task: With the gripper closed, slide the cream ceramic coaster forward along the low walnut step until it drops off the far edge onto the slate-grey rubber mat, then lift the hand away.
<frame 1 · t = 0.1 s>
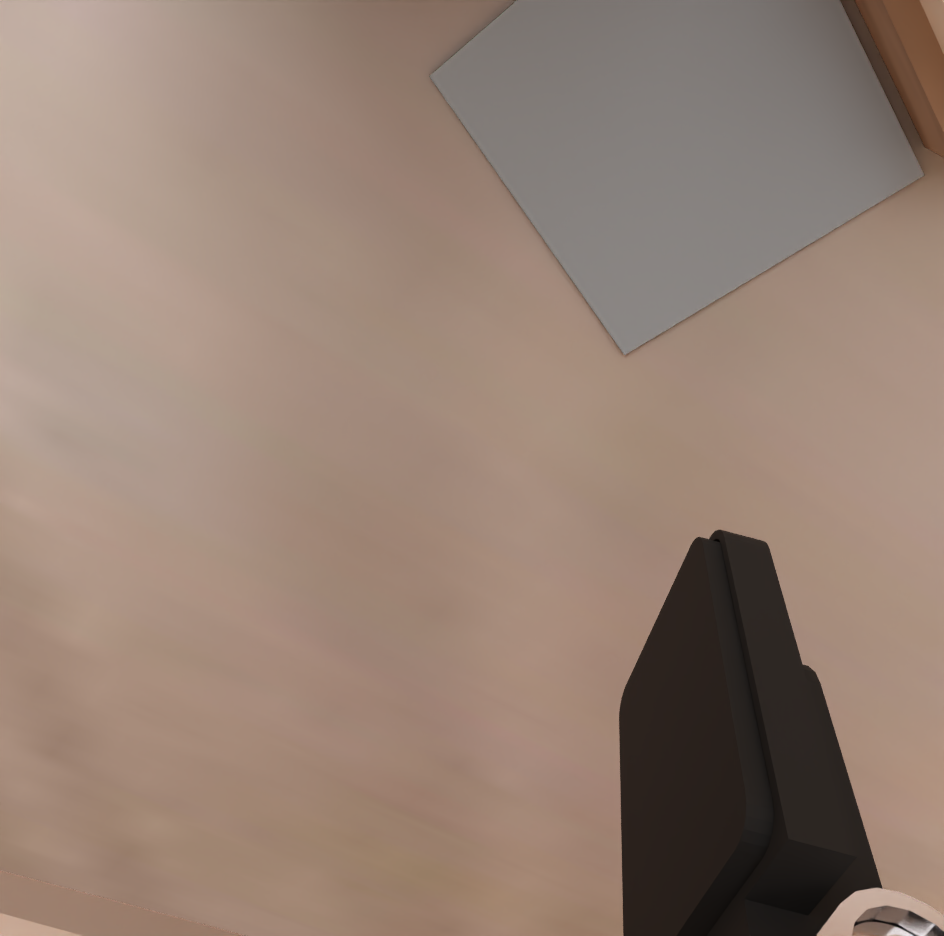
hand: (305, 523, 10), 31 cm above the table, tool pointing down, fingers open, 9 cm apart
slate mat: (673, 124, 35), on the table
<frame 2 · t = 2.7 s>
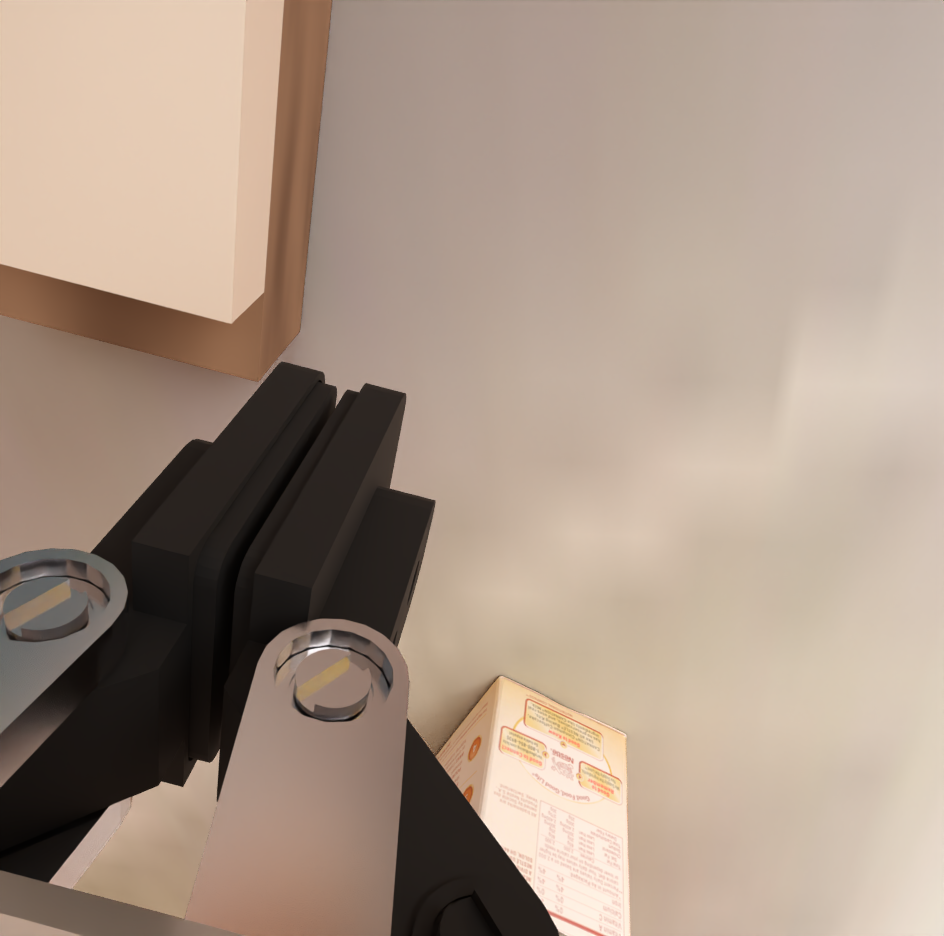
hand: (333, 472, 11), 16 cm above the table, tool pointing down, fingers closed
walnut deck: (177, 86, 24), on the table
coffeecake box: (493, 782, 41), on the table
cream coaster: (102, 120, 20), point 5 cm above the table, touching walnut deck
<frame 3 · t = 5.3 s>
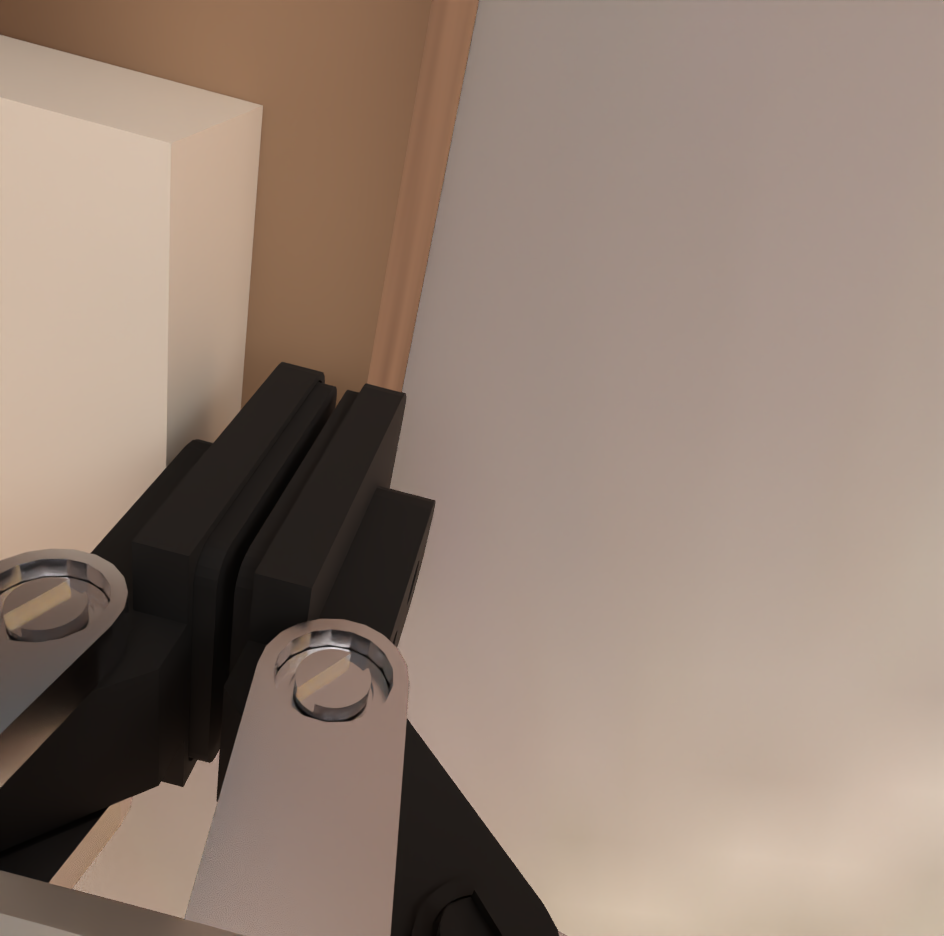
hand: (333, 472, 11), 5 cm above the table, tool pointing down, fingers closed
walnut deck: (182, 265, 15), on the table
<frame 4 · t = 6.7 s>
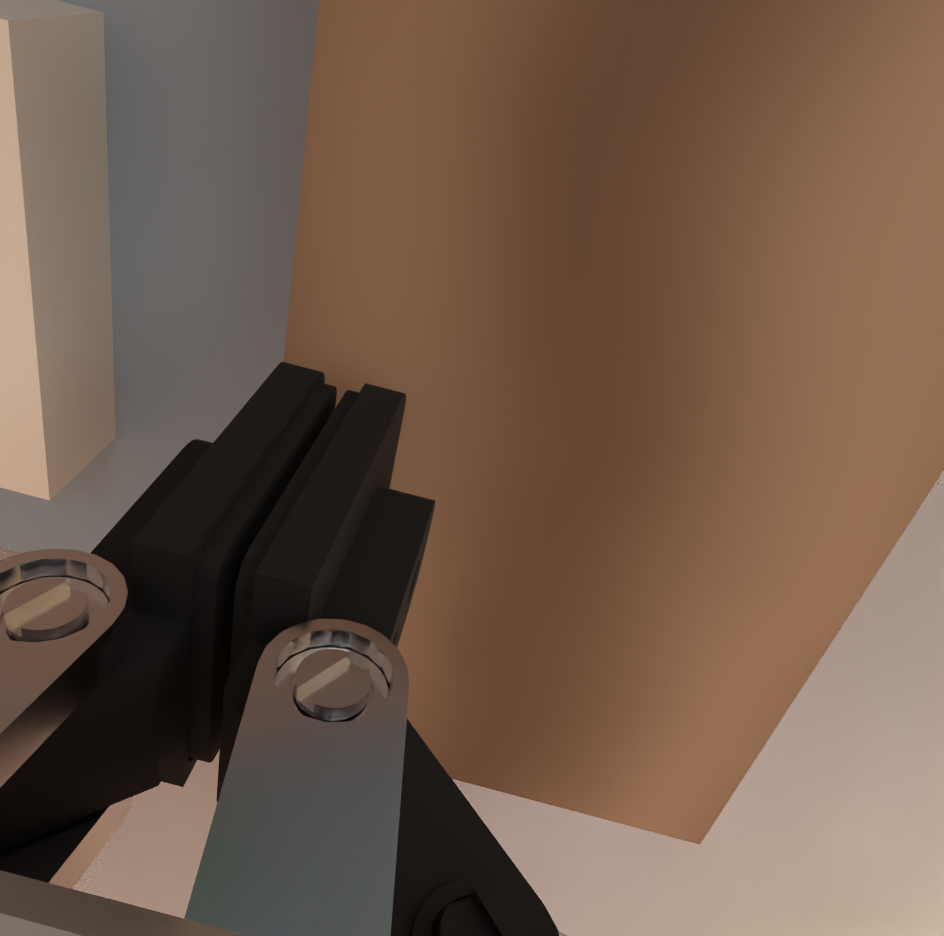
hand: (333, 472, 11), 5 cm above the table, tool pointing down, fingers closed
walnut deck: (583, 377, 15), on the table
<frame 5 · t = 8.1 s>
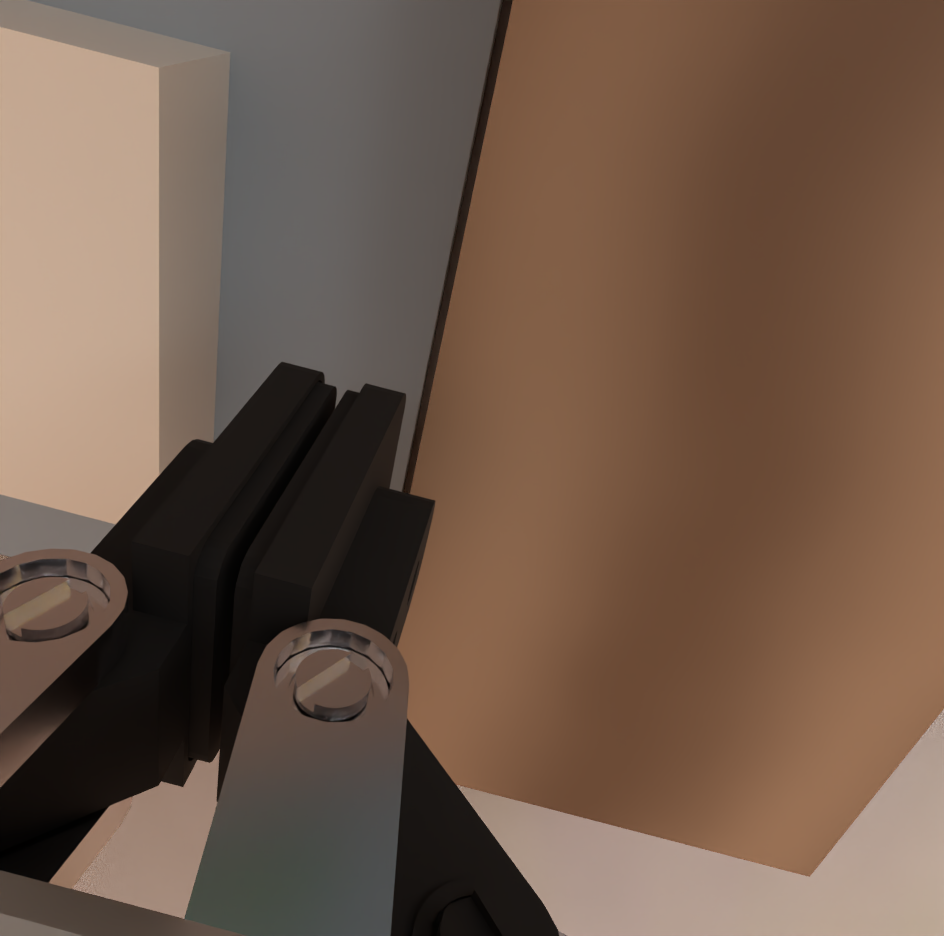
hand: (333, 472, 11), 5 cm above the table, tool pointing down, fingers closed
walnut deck: (692, 408, 15), on the table
slate mat: (46, 242, 15), on the table
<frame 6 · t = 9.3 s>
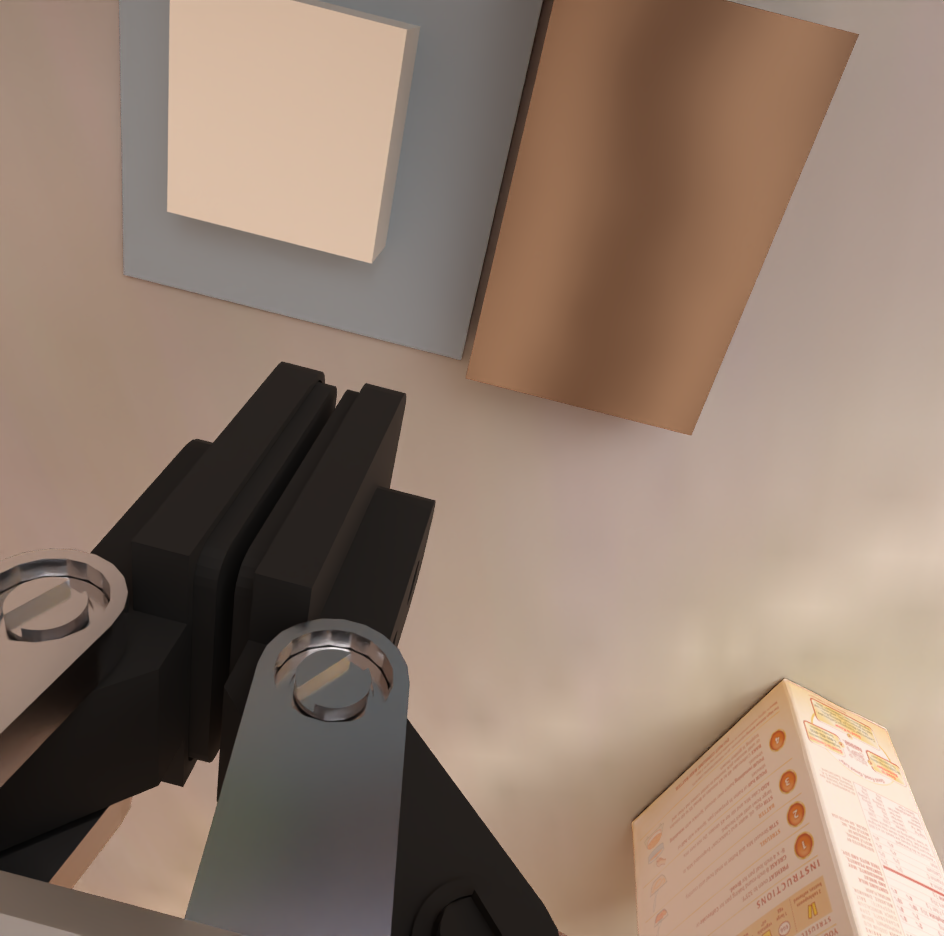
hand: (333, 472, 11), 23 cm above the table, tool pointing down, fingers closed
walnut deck: (631, 202, 31), on the table
coffeecake box: (750, 774, 46), on the table
cream coaster: (289, 122, 29), point 1 cm above the table, tilted 180°, touching slate mat
slate mat: (314, 121, 31), on the table
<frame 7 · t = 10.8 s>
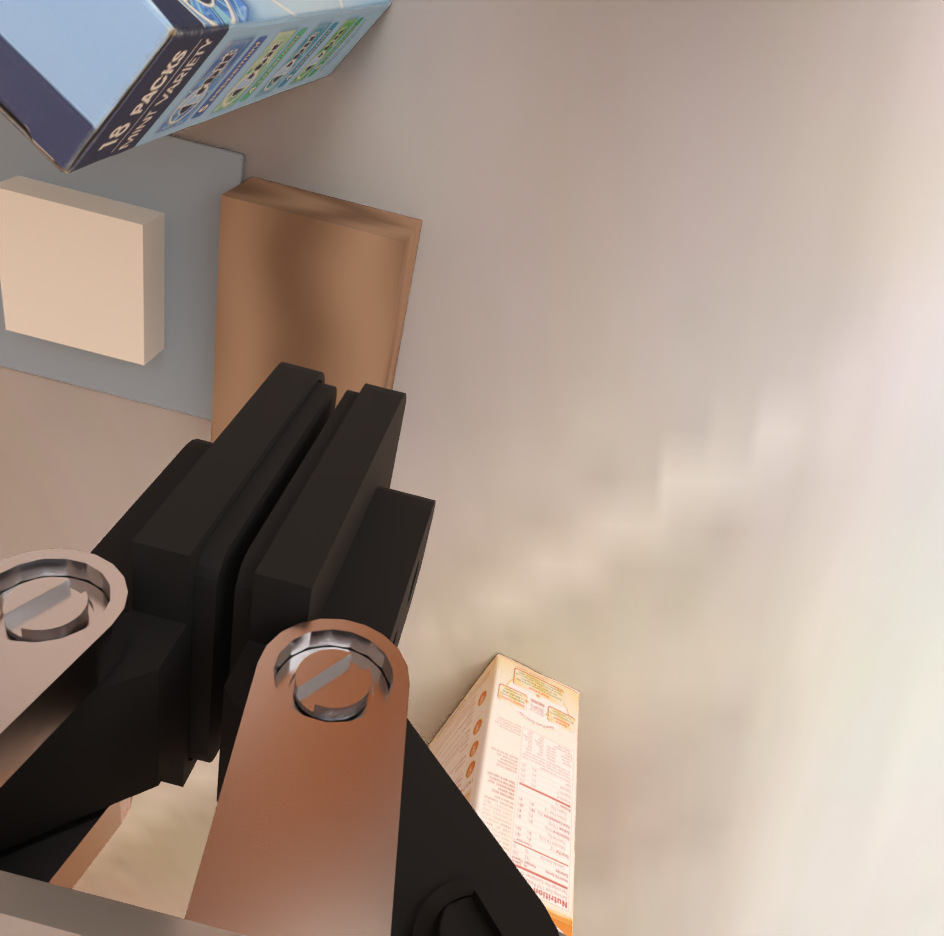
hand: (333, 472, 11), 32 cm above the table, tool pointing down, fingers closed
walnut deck: (322, 323, 45), on the table
coffeecake box: (493, 728, 61), on the table
cream coaster: (83, 272, 44), point 1 cm above the table, tilted 180°, touching slate mat
slate mat: (106, 267, 45), on the table
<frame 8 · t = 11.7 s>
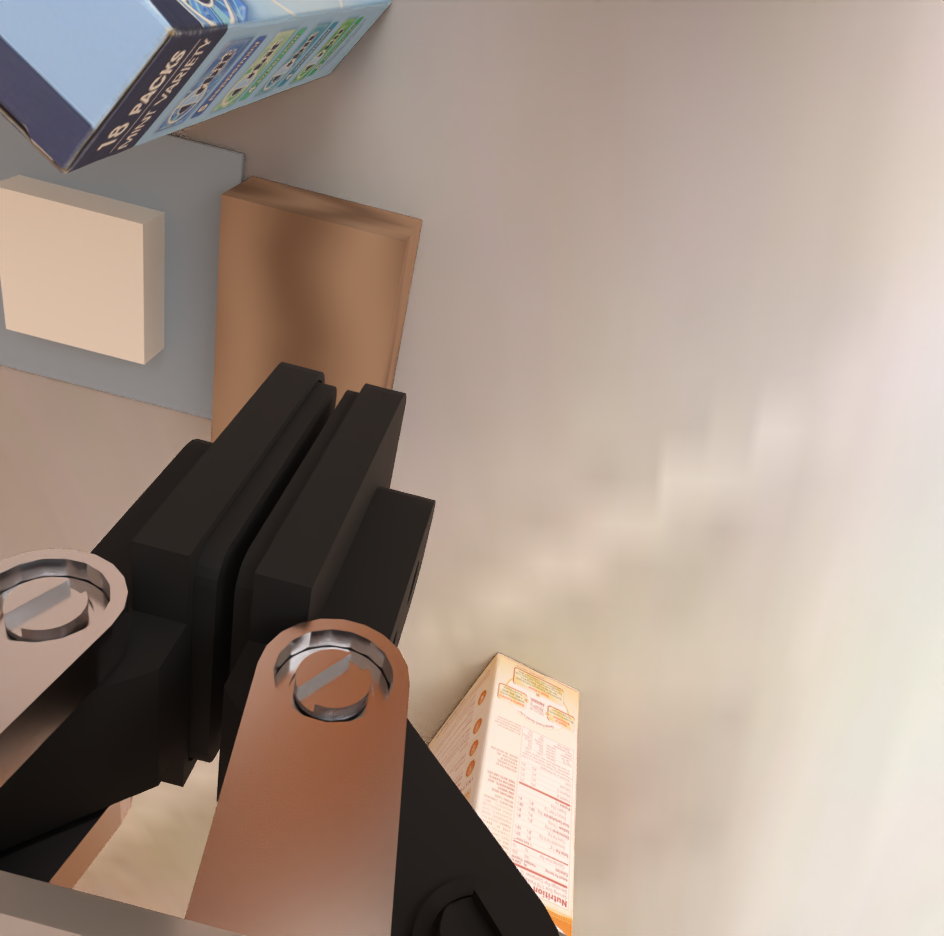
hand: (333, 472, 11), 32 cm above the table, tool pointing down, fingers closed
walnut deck: (322, 322, 45), on the table
coffeecake box: (493, 727, 61), on the table
cream coaster: (83, 272, 44), point 1 cm above the table, tilted 180°, touching slate mat
slate mat: (106, 267, 45), on the table
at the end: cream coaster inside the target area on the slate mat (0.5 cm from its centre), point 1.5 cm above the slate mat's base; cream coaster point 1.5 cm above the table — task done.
